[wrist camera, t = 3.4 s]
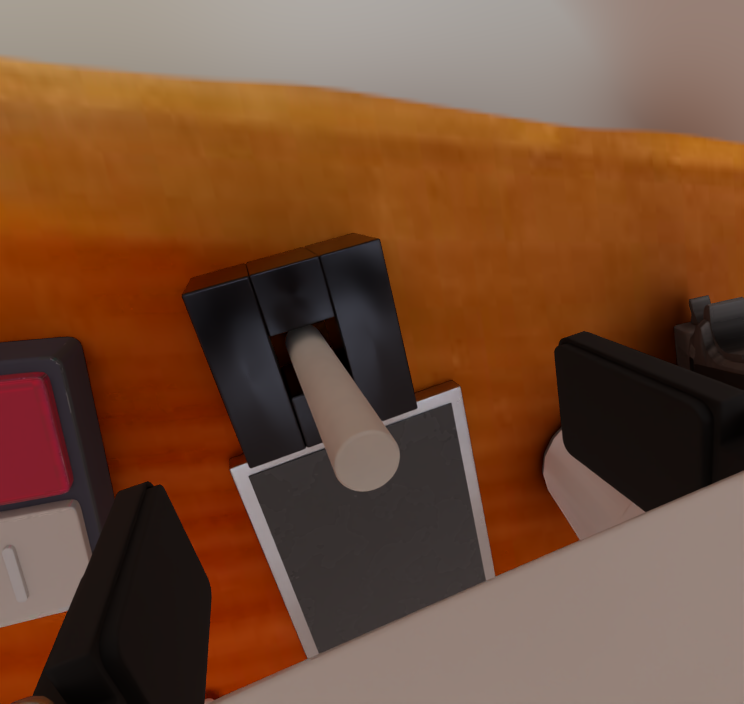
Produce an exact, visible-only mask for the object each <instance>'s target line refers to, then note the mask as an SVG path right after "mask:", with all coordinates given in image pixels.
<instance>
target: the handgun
mask: <svg viewBox="0 0 744 704" xmlns="http://www.w3.org/2000/svg"><path fill="white" fill-rule="evenodd" d="M689 307H690V310H691V322H688V323H684V324H679V325H676V326H674V333H675V345H676V356H677V366H680V367H682V368H685V369H688V370H690V371H693V372H696V373H698V374H701V375H704V376H706V377H709V378H712V379H714V380H717V381H720V382H722V383H725V384H728V385H730V386H733V387H736V388H738V389H741V390H744V298H743V297H739V298H735V299H730V300H726V301H721V302H717V303H712V304H711V303H710V299H709V296H708V295H707V296H702V297H698V298H694V299H689Z"/></svg>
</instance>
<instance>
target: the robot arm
mask: <svg viewBox="0 0 744 704" xmlns="http://www.w3.org/2000/svg"><path fill="white" fill-rule="evenodd" d="M554 355H555V366H556V376H557V386H558V396H559V407H560V417H561V427H562V437H563V443H564V446H565V448H566V450H567V451H568V453H569V454H570V455H571V456H573V457H574V458H575V459H577V460H578V461H579V462H580V463H582V464H583V465H584V466H586V467H587V468H588V469H590V470H591V471H592V472H594V473H595V474H596V475H597V476H599V477H600V478H601V479H603V480H604V481H605V482H607V483H608V484H609V485H611V486H612V487H613V488H614V489H616V490H617V491H618V492H620V493H621V494H622V495H624V496H625V497H626V498H628V499H629V500H630V501H631V502H633V503H634V504H635V505H637V506H638V507H639V508H641V509H642V510H643V511H645V513H643V514H640V515H638V516H636V517H633V518H631V519H629V520H626V521H624V522H622V523H619V524H617V525H614V526H612V527H610V528H607V529H605V530H603V531H600V532H598V533H596V534H593V535H591V536H589V537H586V538H584V539H582V540H579V541H577V542H575V543H572V544H570V545H568V546H565V547H563V548H561V549H558V550H556V551H554V552H551V553H549V554H547V555H545V556H542V557H540V558H538V559H535V560H533V561H531V562H528V563H526V564H524V565H521V566H519V567H517V568H514V569H512V570H510V571H507V572H505V573H503V574H501V575H498V576H496V577H494V578H491V579H489V580H487V581H484V582H482V583H480V584H477V585H475V586H473V587H471V588H468V589H466V590H464V591H461V592H459V593H457V594H454V595H452V596H450V597H448V598H445V599H443V600H441V601H438V602H436V603H434V604H431V605H429V606H427V607H425V608H422V609H420V610H418V611H415V612H413V613H411V614H409V615H406V616H404V617H402V618H400V619H397V620H395V621H393V622H390V623H388V624H386V625H384V626H381V627H379V628H377V629H375V630H372V631H370V632H368V633H365V634H363V635H361V636H359V637H356V638H354V639H352V640H350V641H347V642H345V643H343V644H340V645H338V646H336V647H334V648H331V649H329V650H327V651H325V652H322V653H320V654H318V655H315V656H313V657H311V658H309V659H306V660H304V661H302V662H300V663H297V664H295V665H293V666H290V667H288V668H286V669H284V670H281V671H279V672H277V673H274V674H272V675H270V676H268V677H265V678H263V679H261V680H259V681H256V682H254V683H252V684H249V685H247V686H245V687H243V688H240V689H238V690H236V691H233V692H231V693H229V694H227V695H224V696H222V697H220V698H218V699H216V700H214V701H212V702H210V703H208V704H744V390H741V389H738V388H736V387H733V386H730V385H728V384H725V383H722V382H720V381H717V380H714V379H712V378H709V377H706V376H704V375H701V374H698V373H696V372H693V371H690V370H688V369H685V368H682V367H680V366H677V365H674V364H672V363H669V362H666V361H664V360H661V359H658V358H656V357H653V356H650V355H648V354H645V353H642V352H640V351H637V350H634V349H632V348H629V347H626V346H624V345H621V344H618V343H616V342H613V341H610V340H608V339H605V338H602V337H600V336H597V335H594V334H592V333H589V332H585V331H583V332H580V333H577V334H574V335H571V336H568V337H566V338H563V339H561V340H560V342H559V346H557V347H556V348H555V351H554ZM211 598H212V597H211V587H210V583H209V580H208V578H207V575H206V573H205V571H204V569H203V567H202V565H201V563H200V561H199V559H198V557H197V555H196V553H195V551H194V549H193V547H192V544H191V542H190V540H189V538H188V536H187V534H186V532H185V530H184V528H183V526H182V524H181V522H180V520H179V518H178V516H177V513H176V511H175V509H174V507H173V505H172V503H171V501H170V499H169V497H168V495H167V493H166V491H165V489H164V487H163V486H162V485H157V486H153V485H152V484H151V482H148V481H147V482H145V483H142V484H139V485H136V486H133V487H130V488H127V489H124V490H121V491H119V492H118V493H117V495H116V498H115V500H114V503H113V505H112V507H111V510H110V512H109V515H108V517H107V520H106V522H105V524H104V527H103V529H102V532H101V534H100V537H99V539H98V541H97V544H96V546H95V549H94V551H93V554H92V556H91V558H90V561H89V563H88V566H87V568H86V570H85V573H84V575H83V577H82V578H81V580H80V583H79V585H78V587H77V590H76V592H75V595H74V597H73V599H72V602H71V604H70V607H69V609H68V612H67V614H66V616H65V619H64V621H63V624H62V626H61V628H60V631H59V633H58V636H57V638H56V640H55V643H54V645H53V648H52V650H51V652H50V655H49V657H48V660H47V662H46V664H45V667H44V669H43V672H42V674H41V677H40V679H39V681H38V684H37V686H36V689H35V691H34V693H33V696H30V697H27V698H24V699H21V700H18V701H15V702H13V703H11V704H204V703H205V688H206V673H207V658H208V643H209V628H210V613H211Z"/></svg>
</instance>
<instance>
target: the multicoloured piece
mask: <svg viewBox="0 0 744 704" xmlns="http://www.w3.org/2000/svg"><path fill="white" fill-rule="evenodd" d="M114 500H115V498H114V494H113V489H112V484H111V480H110V475H109V470H108V466H107V461H106V456H105V451H104V447H103V442H102V437H101V433H100V428H99V423H98V419H97V414H96V409H95V405H94V400H93V395H92V391H91V386H90V381H89V377H88V372H87V367H86V363H85V358H84V353H83V349H82V346H81V343H80V342H79V341H78V340H77V339H75V338H72V337H57V338H46V339H35V340H23V341H12V342H1V343H0V627H4V626H8V625H12V624H16V623H20V622H25V621H29V620H33V619H37V618H41V617H45V616H49V615H53V614H57V613H61V612H65V611H68V609H69V607H70V604H71V602H72V599H73V597H74V595H75V592H76V590H77V587H78V585H79V583H80V580H81V578H82V577H83V575H84V573H85V570H86V568H87V566H88V563H89V561H90V558H91V556H92V554H93V551H94V549H95V546H96V544H97V541H98V539H99V537H100V534H101V532H102V529H103V527H104V524H105V522H106V520H107V517H108V515H109V512H110V510H111V507H112V505H113V503H114Z"/></svg>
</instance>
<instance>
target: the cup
mask: <svg viewBox="0 0 744 704" xmlns="http://www.w3.org/2000/svg"><path fill="white" fill-rule="evenodd" d="M542 473H543V476H544V479H545V482H546V485H547V489H548V491H549V492H550V494H551V495H552V497H553V499H554V500H555V502H556V503H557V505H558V506H559V508H560V510H561V511H562V513H563V514H564V516H565V517H566V519H567V520H568V522H569V524H570V525H571V527H572V528H573V530H574V531H575V533H576V535H577V536H578V538H579V539H580V540H582V539H584V538H586V537H589V536H591V535H593V534H596V533H598V532H600V531H603V530H605V529H607V528H610V527H612V526H614V525H617V524H619V523H622V522H624V521H626V520H629V519H631V518H633V517H636V516H638V515H640V514H643V513H645V511H643V510H642V509H641V508H639V507H638V506H637V505H635V504H634V503H633V502H631V501H630V500H629V499H628V498H626V497H625V496H624V495H622V494H621V493H620V492H618V491H617V490H616V489H614V488H613V487H612V486H611V485H609V484H608V483H607V482H605V481H604V480H603V479H601V478H600V477H599V476H597V475H596V474H595V473H594V472H592V471H591V470H590V469H588V468H587V467H586V466H584V465H583V464H582V463H580V462H579V461H578V460H577V459H575V458H574V457H573V456H571V455H570V454H569V453H568V451H567V450H566V448H565V446H564V443H563V437H562V427H561V428H560V429H559V430H558V431H557V432H556V433H555V434H554V435H553V437H552V438H551V440H550V443H549V445H548V447H547V449H546V451H545V453H544V458H543V467H542Z"/></svg>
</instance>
